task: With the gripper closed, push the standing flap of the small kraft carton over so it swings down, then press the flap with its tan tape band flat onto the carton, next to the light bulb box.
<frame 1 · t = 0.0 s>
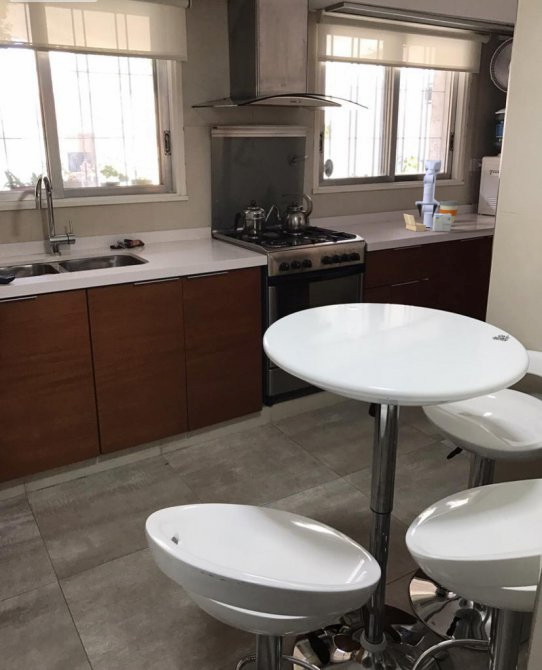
hand: (426, 216, 373), 10 cm above the table, tool pointing down, fingers open, 7 cm apart
lid: (409, 219, 384), point 7 cm above the table, hinge at 110.0°, touching carton
carton: (415, 230, 388), on the table
light bulb box: (441, 230, 386), on the table
reusable coffee cup: (447, 222, 424), on the table
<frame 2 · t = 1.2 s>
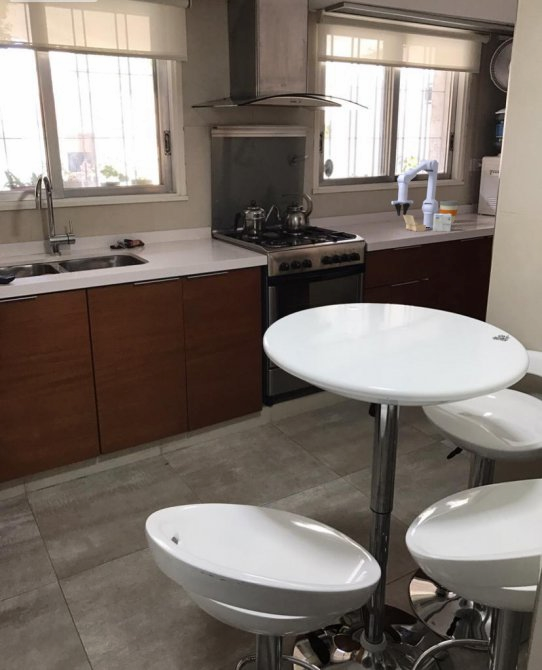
hand: (401, 215, 382), 10 cm above the table, tool pointing down, fingers open, 3 cm apart
lid: (409, 219, 384), point 7 cm above the table, hinge at 114.1°, touching carton
everything else where it was.
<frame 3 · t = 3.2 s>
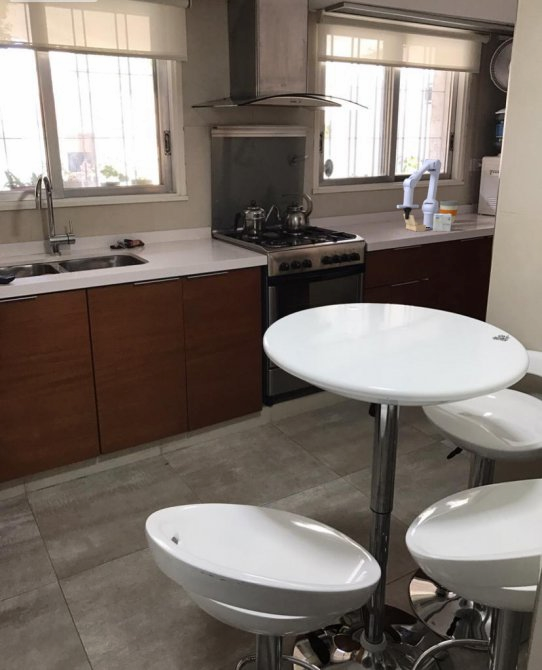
hand: (406, 219, 384), 7 cm above the table, tool pointing down, fingers closed, pressing on lid
lid: (409, 219, 384), point 7 cm above the table, hinge at 111.4°, touching carton, gripper
everything else where it was.
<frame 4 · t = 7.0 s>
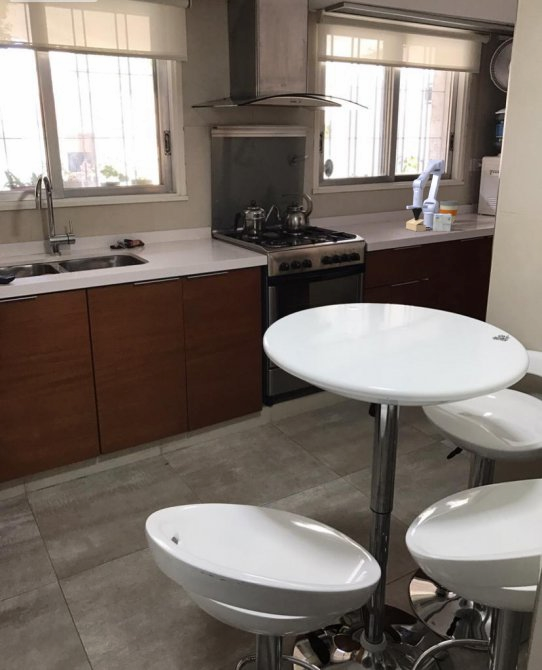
hand: (416, 220, 386), 7 cm above the table, tool pointing down, fingers closed
lid: (415, 221, 386), point 6 cm above the table, hinge at 25.3°, touching gripper
everything else where it was.
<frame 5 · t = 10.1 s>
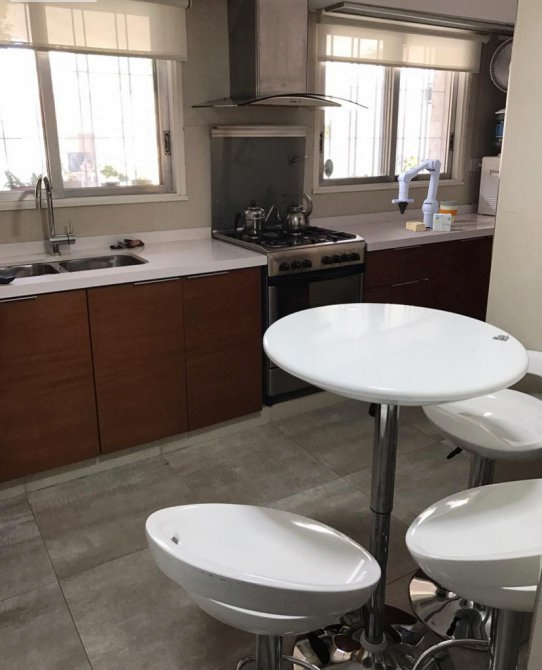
hand: (402, 214, 385), 10 cm above the table, tool pointing down, fingers closed
lid: (415, 223, 386), point 5 cm above the table, hinge at 4.2°
everything else where it was.
at the end: lid at +4° (first picture: +110°); light bulb box moved 0.3 cm from its start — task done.
